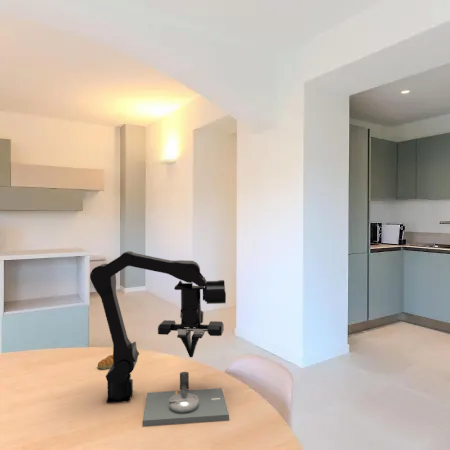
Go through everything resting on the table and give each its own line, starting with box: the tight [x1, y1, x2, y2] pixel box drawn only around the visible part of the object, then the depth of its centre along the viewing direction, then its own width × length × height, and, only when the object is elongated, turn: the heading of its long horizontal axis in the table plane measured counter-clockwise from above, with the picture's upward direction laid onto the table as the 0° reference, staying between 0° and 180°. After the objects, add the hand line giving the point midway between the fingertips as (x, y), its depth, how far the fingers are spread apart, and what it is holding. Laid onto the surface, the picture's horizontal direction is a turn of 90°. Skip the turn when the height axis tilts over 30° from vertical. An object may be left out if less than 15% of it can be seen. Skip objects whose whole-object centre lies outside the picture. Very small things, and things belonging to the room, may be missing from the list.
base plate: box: [142, 387, 230, 427], centre depth 108 cm, size 22×16×2 cm
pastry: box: [97, 354, 113, 370], centre depth 140 cm, size 9×7×4 cm
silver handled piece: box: [169, 371, 199, 413], centre depth 110 cm, size 15×8×5 cm, turn 5°
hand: (191, 356), depth 116 cm, fingers closed
